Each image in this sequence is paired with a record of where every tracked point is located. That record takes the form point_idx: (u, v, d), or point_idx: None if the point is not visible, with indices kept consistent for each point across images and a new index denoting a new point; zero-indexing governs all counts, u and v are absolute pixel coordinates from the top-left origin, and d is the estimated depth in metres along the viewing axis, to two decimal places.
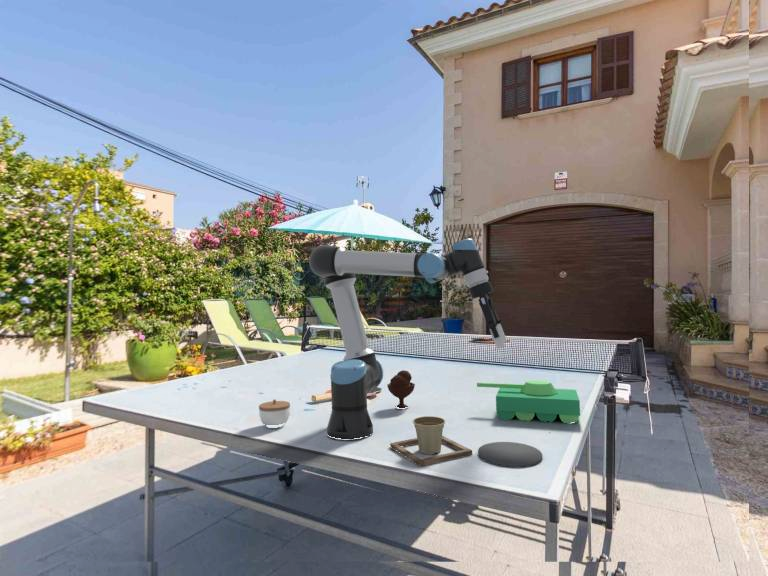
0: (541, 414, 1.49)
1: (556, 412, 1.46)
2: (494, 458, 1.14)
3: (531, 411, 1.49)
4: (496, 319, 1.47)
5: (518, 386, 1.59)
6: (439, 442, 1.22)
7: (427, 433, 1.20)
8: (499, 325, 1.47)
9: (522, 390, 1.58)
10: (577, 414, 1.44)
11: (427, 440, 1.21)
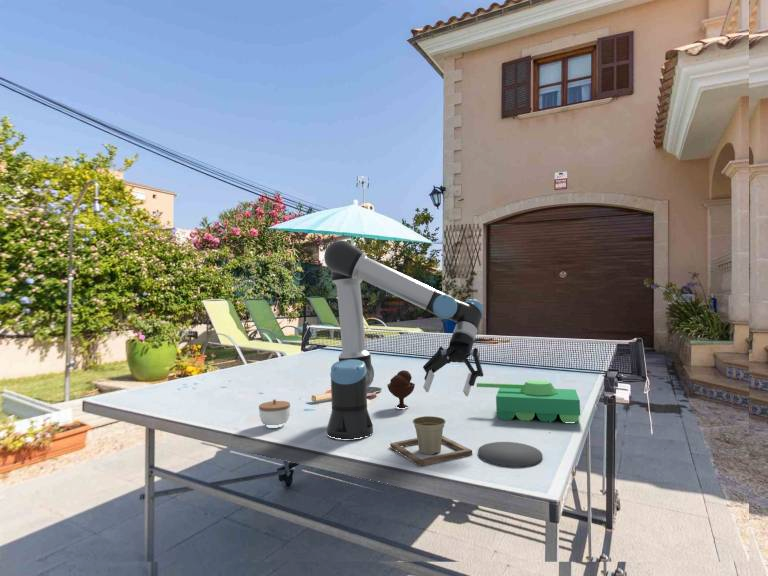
0: (541, 414, 1.49)
1: (556, 412, 1.46)
2: (494, 458, 1.14)
3: (531, 411, 1.49)
4: (436, 370, 1.42)
5: (518, 386, 1.59)
6: (439, 442, 1.22)
7: (427, 433, 1.20)
8: (433, 375, 1.41)
9: (522, 390, 1.58)
10: (577, 414, 1.44)
11: (427, 440, 1.21)
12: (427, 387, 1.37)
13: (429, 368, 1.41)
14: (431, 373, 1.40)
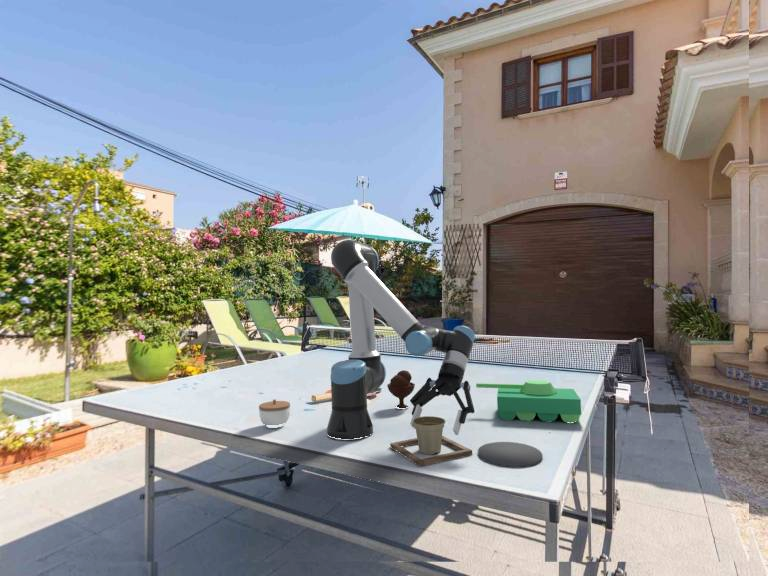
0: (542, 414, 1.49)
1: (557, 412, 1.47)
2: (494, 458, 1.14)
3: (532, 411, 1.49)
4: (424, 403, 1.32)
5: (518, 386, 1.58)
6: (439, 442, 1.22)
7: (427, 433, 1.20)
8: (421, 410, 1.31)
9: (522, 390, 1.58)
10: (578, 413, 1.45)
11: (427, 440, 1.21)
12: None
13: (417, 402, 1.31)
14: (419, 408, 1.30)
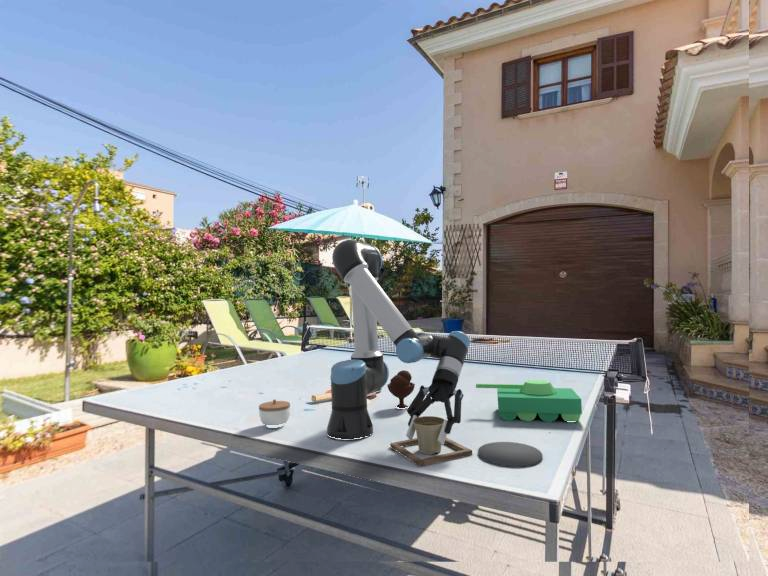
0: (543, 414, 1.49)
1: (558, 411, 1.47)
2: (494, 458, 1.14)
3: (533, 411, 1.49)
4: (420, 413, 1.29)
5: (518, 386, 1.58)
6: None
7: (427, 433, 1.20)
8: None
9: (522, 390, 1.58)
10: (579, 413, 1.45)
11: (427, 440, 1.20)
12: (410, 435, 1.24)
13: (413, 412, 1.28)
14: None
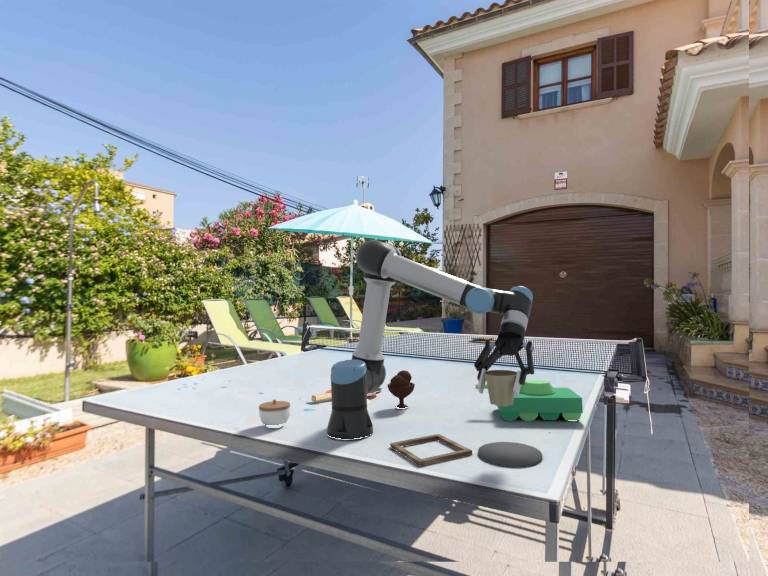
0: (544, 413, 1.50)
1: (560, 411, 1.48)
2: (494, 458, 1.14)
3: (535, 411, 1.49)
4: (489, 367, 1.25)
5: None
6: (512, 394, 1.17)
7: (500, 384, 1.16)
8: None
9: (522, 390, 1.57)
10: (580, 411, 1.47)
11: (501, 392, 1.16)
12: (481, 388, 1.20)
13: (482, 366, 1.24)
14: None
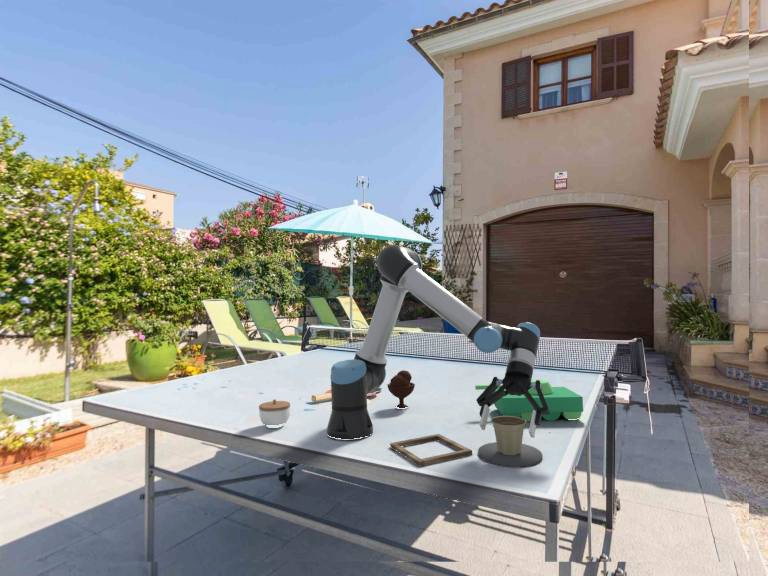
0: None
1: (561, 410, 1.49)
2: (494, 458, 1.14)
3: None
4: (491, 403, 1.26)
5: None
6: (520, 443, 1.17)
7: (509, 433, 1.15)
8: (488, 410, 1.25)
9: None
10: (580, 410, 1.48)
11: (509, 441, 1.15)
12: (483, 424, 1.21)
13: (484, 402, 1.25)
14: (487, 408, 1.24)
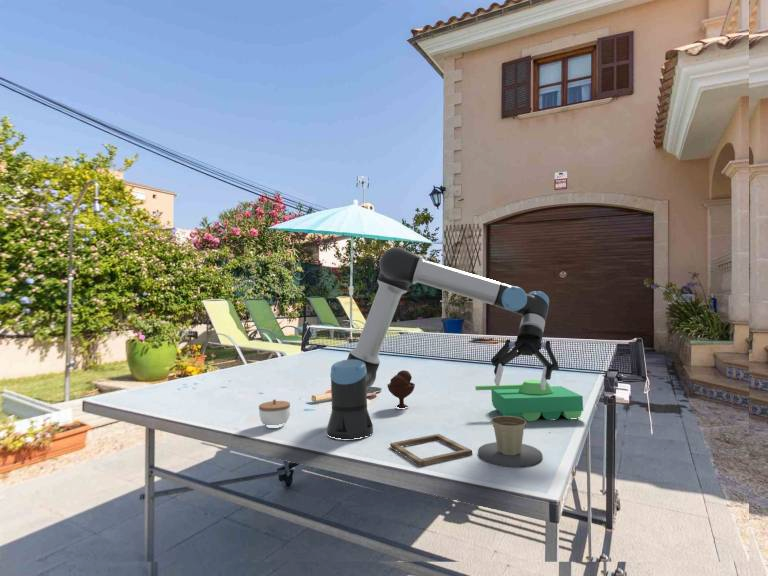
0: (547, 413, 1.50)
1: (562, 409, 1.49)
2: (494, 458, 1.14)
3: (539, 411, 1.49)
4: (505, 363, 1.36)
5: (517, 386, 1.58)
6: (521, 443, 1.17)
7: (509, 434, 1.15)
8: (502, 369, 1.35)
9: (521, 390, 1.57)
10: (580, 409, 1.49)
11: (509, 441, 1.15)
12: (498, 381, 1.32)
13: (498, 361, 1.36)
14: (501, 366, 1.34)
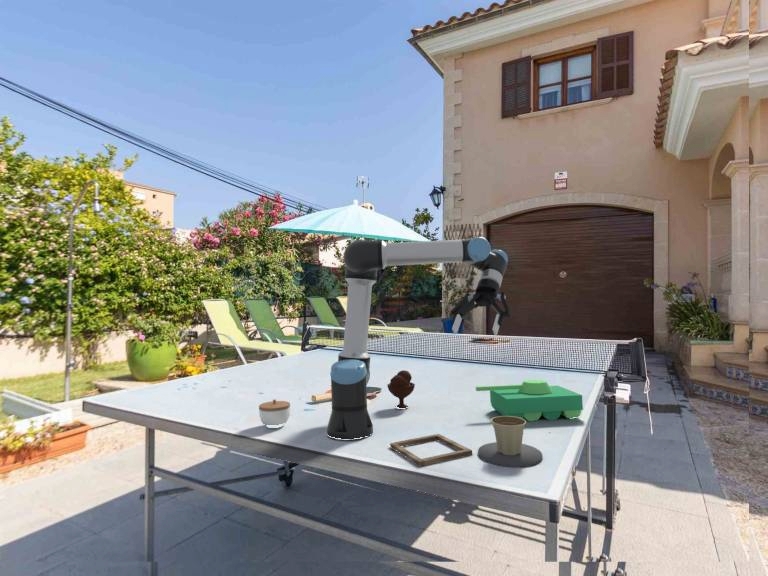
0: (547, 412, 1.51)
1: (562, 409, 1.50)
2: (494, 458, 1.14)
3: (540, 410, 1.49)
4: (463, 314, 1.46)
5: (517, 387, 1.58)
6: (520, 443, 1.17)
7: (509, 434, 1.15)
8: (460, 319, 1.45)
9: (521, 390, 1.57)
10: (580, 408, 1.50)
11: (509, 441, 1.15)
12: (455, 329, 1.41)
13: (457, 312, 1.45)
14: (459, 316, 1.43)
